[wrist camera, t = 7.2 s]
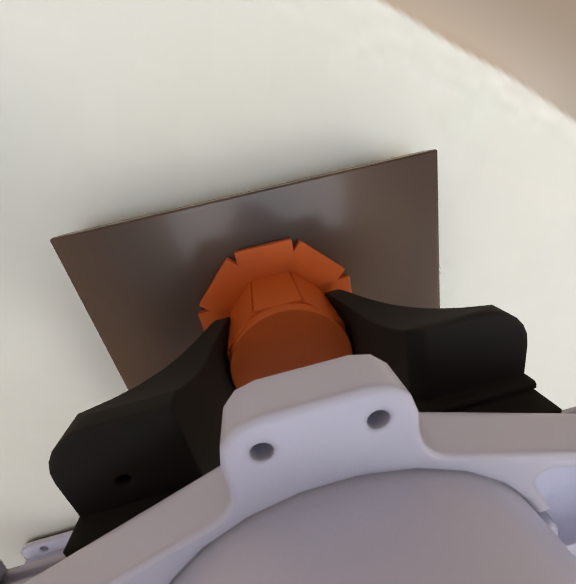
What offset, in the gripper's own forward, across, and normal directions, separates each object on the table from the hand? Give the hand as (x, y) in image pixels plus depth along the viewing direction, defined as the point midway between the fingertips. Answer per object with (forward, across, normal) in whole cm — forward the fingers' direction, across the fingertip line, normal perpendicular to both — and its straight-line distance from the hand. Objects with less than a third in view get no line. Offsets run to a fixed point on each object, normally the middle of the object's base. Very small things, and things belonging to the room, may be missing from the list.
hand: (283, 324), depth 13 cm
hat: (+1, 0, 0) cm, 1 cm away
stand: (+4, 0, 0) cm, 4 cm away
